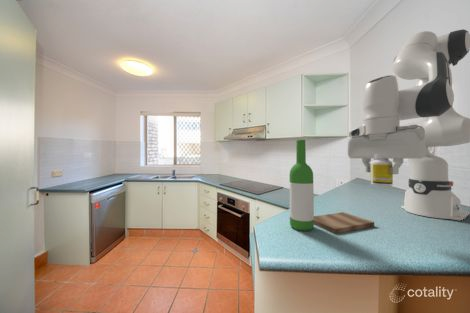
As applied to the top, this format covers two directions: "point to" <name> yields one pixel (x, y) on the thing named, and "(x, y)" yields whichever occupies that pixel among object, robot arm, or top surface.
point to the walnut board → (341, 222)
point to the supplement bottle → (381, 171)
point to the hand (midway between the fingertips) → (381, 173)
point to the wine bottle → (301, 191)
